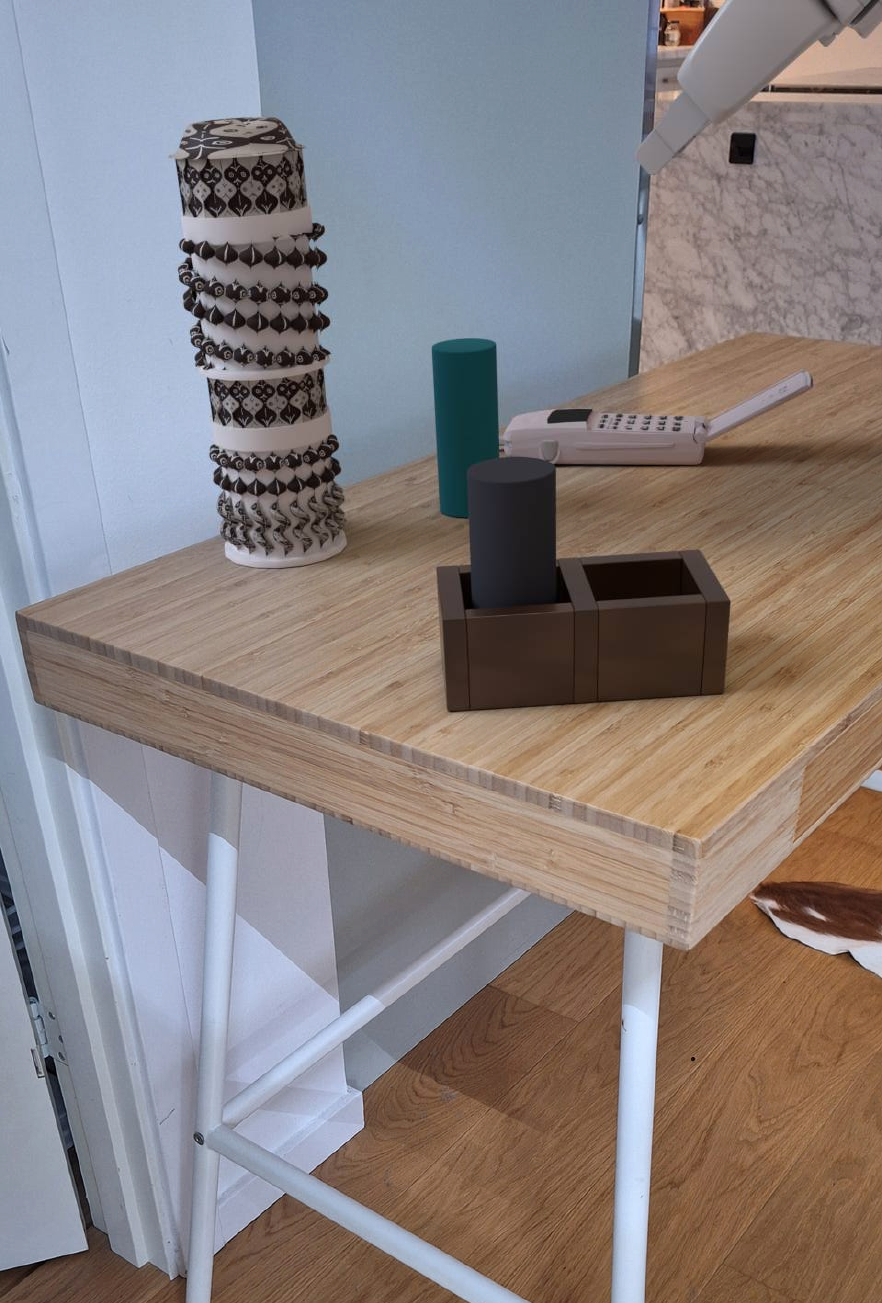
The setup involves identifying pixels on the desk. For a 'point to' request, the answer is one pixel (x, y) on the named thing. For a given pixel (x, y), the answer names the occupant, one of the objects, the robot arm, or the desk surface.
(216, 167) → the white patterned tall cylinder
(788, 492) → the desk surface
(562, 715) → the desk surface
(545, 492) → the seated dark gray cylinder
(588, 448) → the mobile phone
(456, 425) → the teal cylinder
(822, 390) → the desk surface
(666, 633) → the mount block
